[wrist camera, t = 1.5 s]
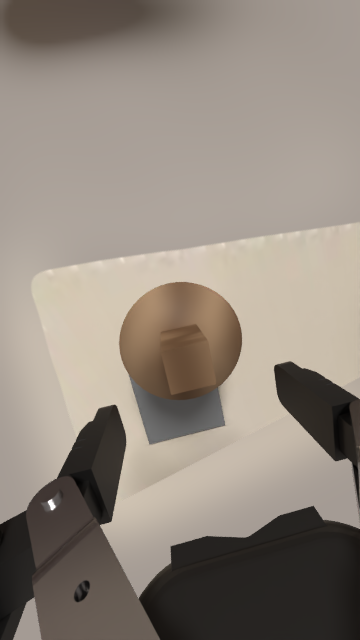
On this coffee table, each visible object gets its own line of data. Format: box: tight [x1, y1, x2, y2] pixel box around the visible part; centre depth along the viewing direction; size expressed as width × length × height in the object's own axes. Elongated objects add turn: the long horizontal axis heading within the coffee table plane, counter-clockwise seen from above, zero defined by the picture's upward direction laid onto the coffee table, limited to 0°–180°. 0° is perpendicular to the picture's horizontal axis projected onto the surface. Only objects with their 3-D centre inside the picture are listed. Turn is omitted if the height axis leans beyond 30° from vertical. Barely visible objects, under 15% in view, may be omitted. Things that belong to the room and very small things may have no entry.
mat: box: [129, 375, 225, 444], centre depth 32 cm, size 12×12×1 cm
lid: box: [119, 282, 242, 400], centre depth 17 cm, size 11×11×6 cm
